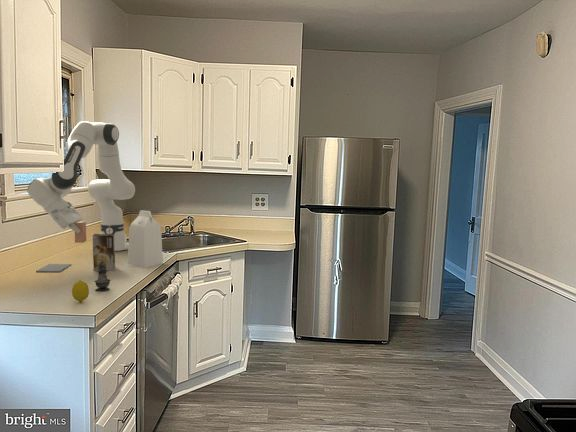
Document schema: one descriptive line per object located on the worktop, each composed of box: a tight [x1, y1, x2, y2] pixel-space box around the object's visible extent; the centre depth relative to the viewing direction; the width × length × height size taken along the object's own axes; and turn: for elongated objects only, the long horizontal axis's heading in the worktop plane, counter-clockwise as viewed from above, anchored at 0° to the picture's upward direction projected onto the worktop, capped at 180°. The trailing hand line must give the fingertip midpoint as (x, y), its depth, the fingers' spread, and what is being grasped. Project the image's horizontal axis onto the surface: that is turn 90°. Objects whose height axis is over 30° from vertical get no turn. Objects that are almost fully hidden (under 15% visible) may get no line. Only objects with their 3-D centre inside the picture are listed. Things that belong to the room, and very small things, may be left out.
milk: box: [127, 209, 164, 268], centre depth 224 cm, size 12×12×26 cm
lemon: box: [71, 279, 90, 303], centre depth 162 cm, size 6×6×8 cm
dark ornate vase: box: [94, 260, 112, 293], centre depth 177 cm, size 6×6×12 cm
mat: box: [35, 263, 72, 273], centre depth 209 cm, size 14×10×1 cm
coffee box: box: [92, 233, 116, 272], centre depth 211 cm, size 9×6×16 cm
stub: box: [74, 220, 87, 244], centre depth 209 cm, size 4×4×9 cm
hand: (81, 231), depth 209 cm, fingers closed on stub, 4 cm apart
